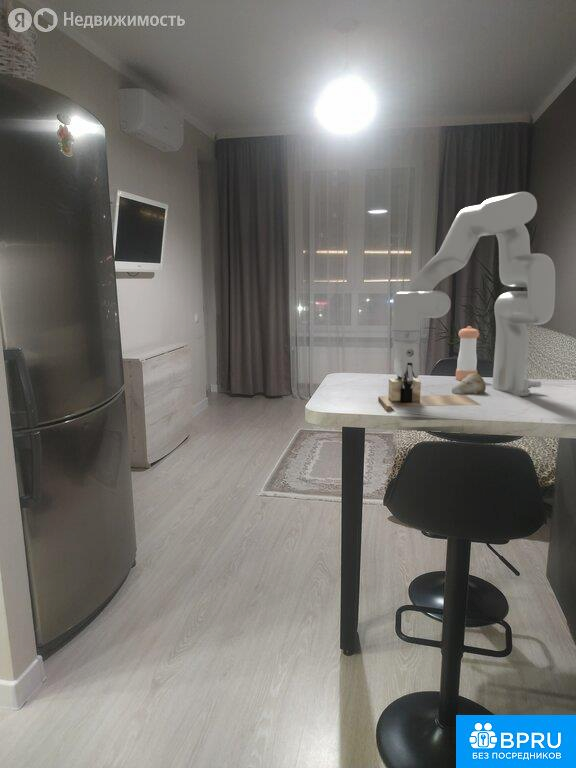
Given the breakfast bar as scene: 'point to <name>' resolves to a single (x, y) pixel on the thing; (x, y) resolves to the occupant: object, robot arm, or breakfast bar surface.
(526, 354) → the robot arm
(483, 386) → the beige stone
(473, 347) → the pepper shaker
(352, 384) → the breakfast bar surface
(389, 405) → the plank
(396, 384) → the block
